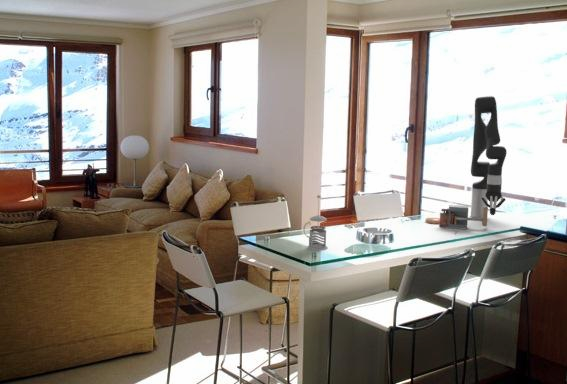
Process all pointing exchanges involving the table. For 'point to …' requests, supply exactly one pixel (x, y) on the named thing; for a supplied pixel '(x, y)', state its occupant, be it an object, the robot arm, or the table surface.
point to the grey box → (460, 212)
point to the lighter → (446, 218)
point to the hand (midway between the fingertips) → (492, 214)
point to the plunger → (484, 219)
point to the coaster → (433, 220)
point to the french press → (312, 243)
